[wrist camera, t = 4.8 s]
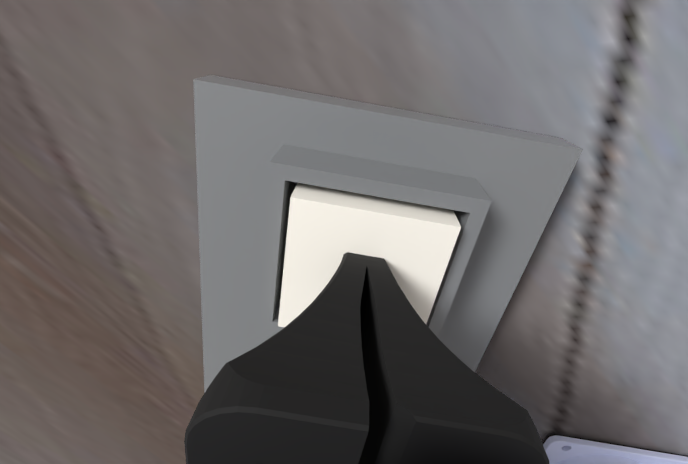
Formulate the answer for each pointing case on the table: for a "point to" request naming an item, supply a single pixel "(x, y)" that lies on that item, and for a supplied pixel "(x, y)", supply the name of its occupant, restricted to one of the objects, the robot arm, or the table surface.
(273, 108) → the stepped grey tray
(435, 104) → the table surface
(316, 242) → the cream key
